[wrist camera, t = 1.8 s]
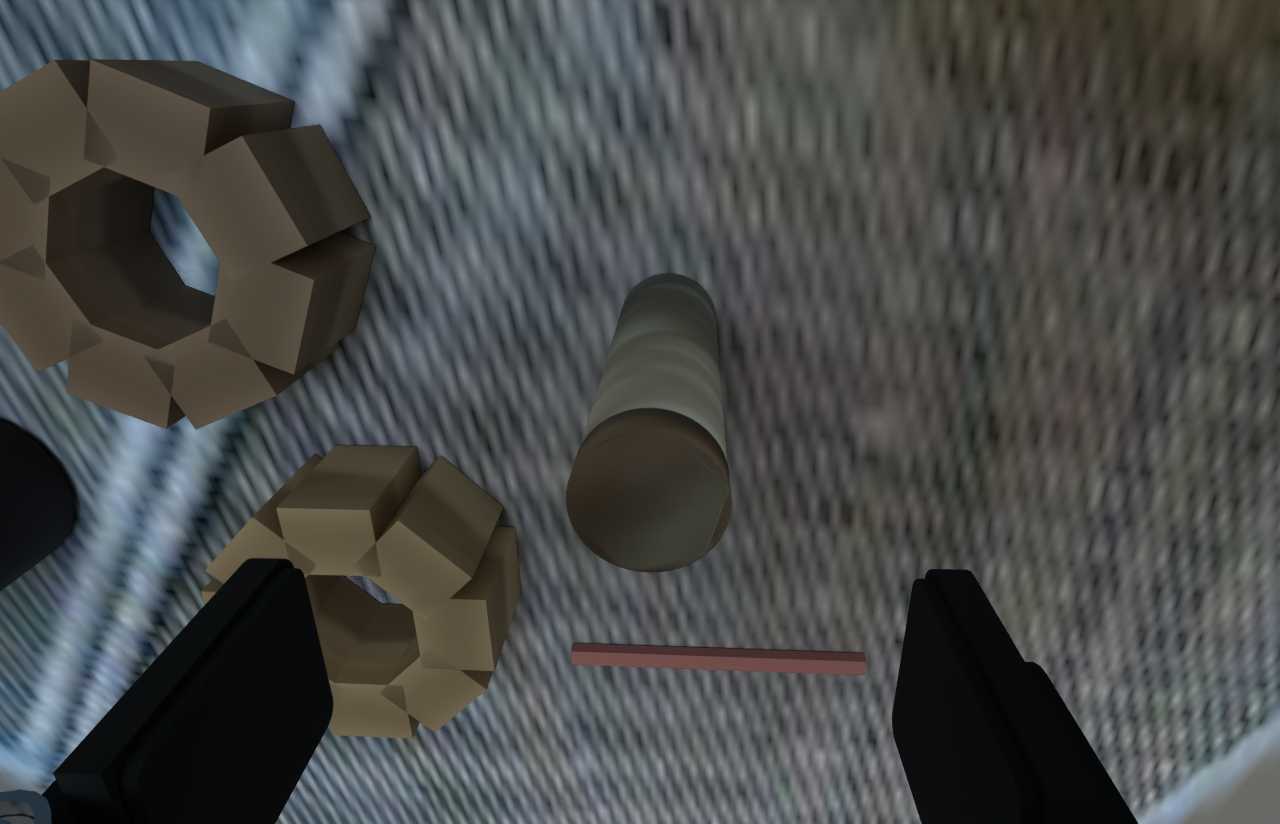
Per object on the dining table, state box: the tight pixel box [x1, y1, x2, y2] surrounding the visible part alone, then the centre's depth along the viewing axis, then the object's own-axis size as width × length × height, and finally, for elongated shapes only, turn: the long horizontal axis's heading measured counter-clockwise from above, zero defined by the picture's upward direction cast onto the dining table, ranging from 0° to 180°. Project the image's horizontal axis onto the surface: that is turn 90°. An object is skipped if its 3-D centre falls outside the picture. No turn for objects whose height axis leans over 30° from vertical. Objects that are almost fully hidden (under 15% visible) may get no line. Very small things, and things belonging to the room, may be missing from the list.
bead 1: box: [0, 59, 376, 429], centre depth 23 cm, size 10×10×4 cm
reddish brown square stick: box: [571, 643, 866, 675], centre depth 31 cm, size 12×1×1 cm, turn 90°
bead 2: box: [201, 445, 521, 739], centre depth 29 cm, size 10×10×4 cm
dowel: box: [566, 273, 731, 572], centre depth 20 cm, size 3×3×12 cm
